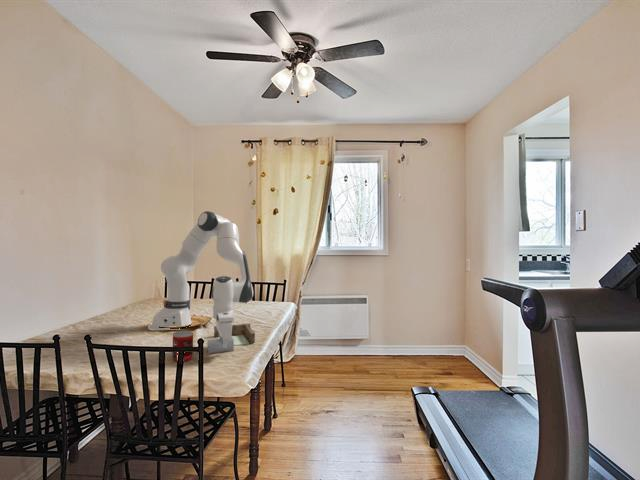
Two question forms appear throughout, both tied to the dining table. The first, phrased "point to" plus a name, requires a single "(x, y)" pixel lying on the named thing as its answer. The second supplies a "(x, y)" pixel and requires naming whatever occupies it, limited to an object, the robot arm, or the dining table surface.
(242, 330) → the arena
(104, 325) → the dining table surface
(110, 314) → the dining table surface
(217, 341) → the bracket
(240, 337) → the pad
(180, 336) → the canned food
